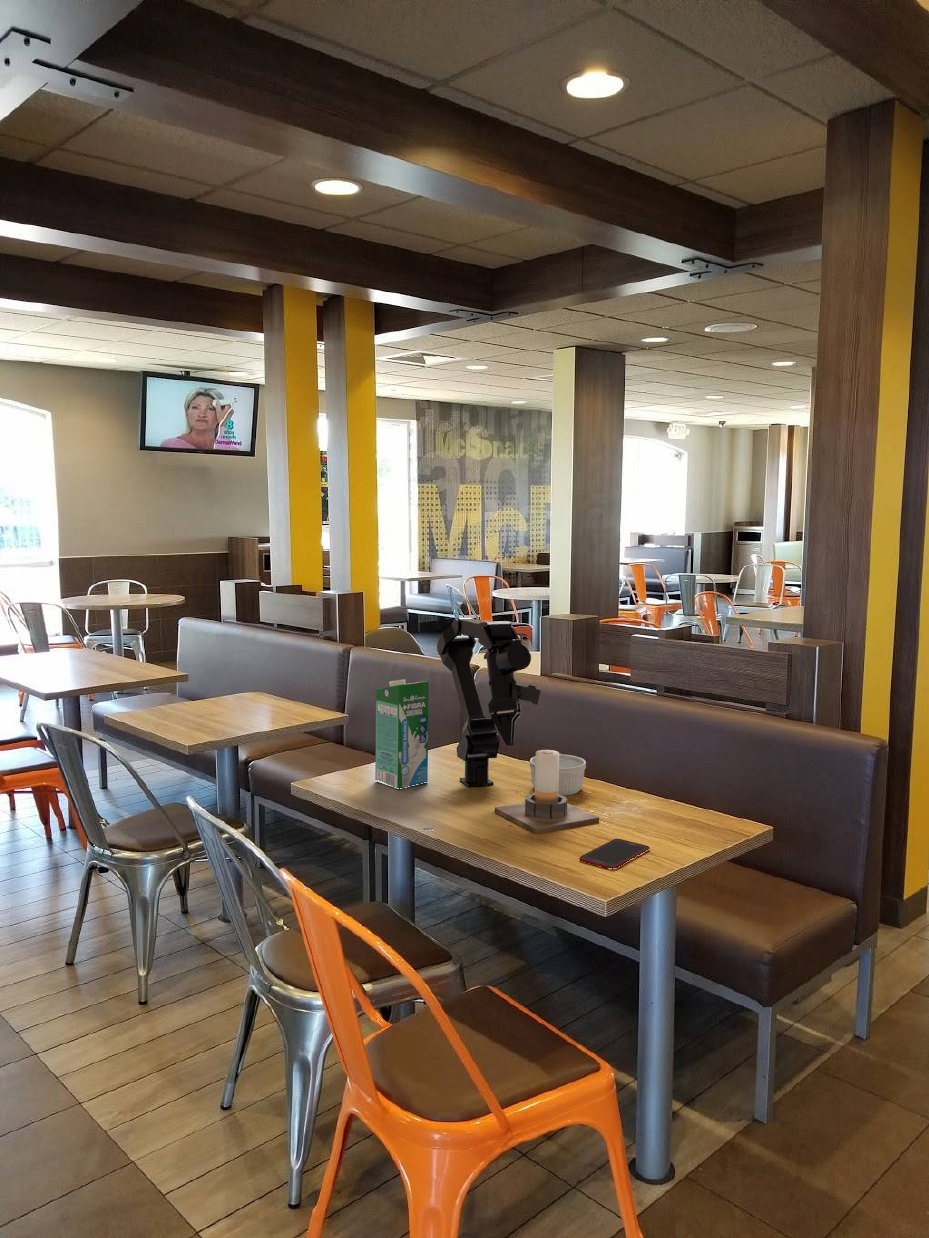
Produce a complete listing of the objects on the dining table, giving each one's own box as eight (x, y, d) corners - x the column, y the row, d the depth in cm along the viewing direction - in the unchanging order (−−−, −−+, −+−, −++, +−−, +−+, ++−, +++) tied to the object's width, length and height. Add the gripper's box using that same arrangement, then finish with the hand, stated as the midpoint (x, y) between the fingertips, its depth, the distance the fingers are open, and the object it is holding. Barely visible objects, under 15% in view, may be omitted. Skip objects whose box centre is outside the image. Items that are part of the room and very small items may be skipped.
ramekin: (554, 800, 212) (555, 770, 212) (517, 787, 223) (518, 758, 222) (596, 791, 220) (597, 762, 220) (559, 778, 231) (559, 751, 230)
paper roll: (530, 813, 200) (531, 753, 198) (540, 807, 204) (541, 748, 202) (551, 817, 197) (553, 756, 196) (561, 811, 201) (563, 751, 200)
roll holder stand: (494, 811, 203) (494, 793, 203) (554, 801, 211) (555, 784, 211) (536, 833, 190) (536, 814, 189) (598, 822, 198) (599, 803, 197)
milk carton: (404, 775, 231) (405, 675, 229) (428, 783, 225) (429, 680, 222) (375, 782, 225) (375, 679, 223) (398, 790, 219) (399, 684, 216)
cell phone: (577, 862, 175) (577, 857, 175) (616, 842, 186) (616, 837, 186) (613, 873, 170) (613, 867, 170) (651, 851, 182) (651, 846, 182)
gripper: (535, 667, 201) (544, 740, 199) (538, 675, 220) (546, 741, 217) (484, 674, 202) (493, 746, 200) (491, 680, 221) (499, 747, 218)
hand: (509, 745), depth 209 cm, fingers open, 9 cm apart
